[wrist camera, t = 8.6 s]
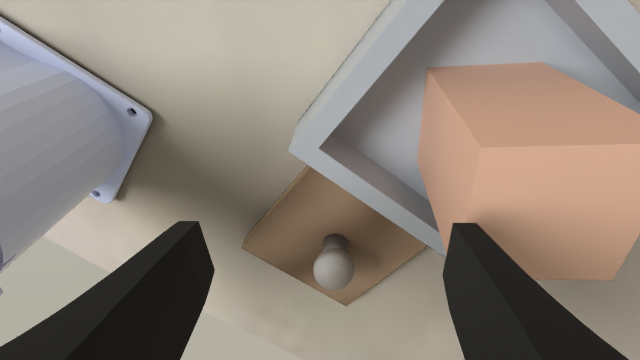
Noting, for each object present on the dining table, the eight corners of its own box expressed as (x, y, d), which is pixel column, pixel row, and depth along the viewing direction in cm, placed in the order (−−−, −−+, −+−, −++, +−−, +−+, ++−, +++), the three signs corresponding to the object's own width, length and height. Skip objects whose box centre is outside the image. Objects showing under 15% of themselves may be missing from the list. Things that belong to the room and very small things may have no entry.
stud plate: (245, 237, 24) (225, 289, 20) (322, 147, 19) (314, 192, 16) (346, 295, 26) (345, 350, 22) (435, 226, 22) (451, 281, 18)
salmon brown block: (417, 161, 18) (453, 277, 12) (426, 67, 16) (480, 147, 9) (514, 159, 18) (612, 280, 11) (541, 61, 15) (692, 142, 8)
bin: (298, 121, 18) (287, 151, 16) (477, -114, 13) (515, -136, 10) (462, 237, 22) (479, 280, 19) (662, 95, 16) (730, 124, 13)
